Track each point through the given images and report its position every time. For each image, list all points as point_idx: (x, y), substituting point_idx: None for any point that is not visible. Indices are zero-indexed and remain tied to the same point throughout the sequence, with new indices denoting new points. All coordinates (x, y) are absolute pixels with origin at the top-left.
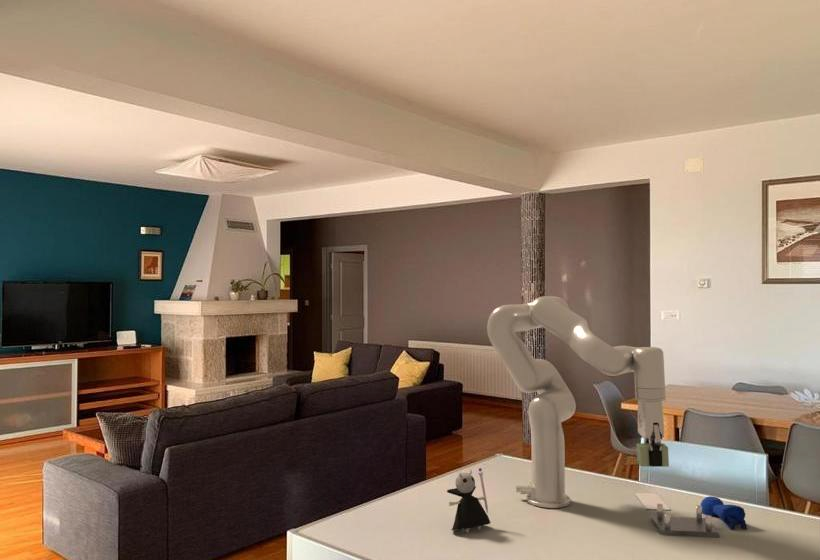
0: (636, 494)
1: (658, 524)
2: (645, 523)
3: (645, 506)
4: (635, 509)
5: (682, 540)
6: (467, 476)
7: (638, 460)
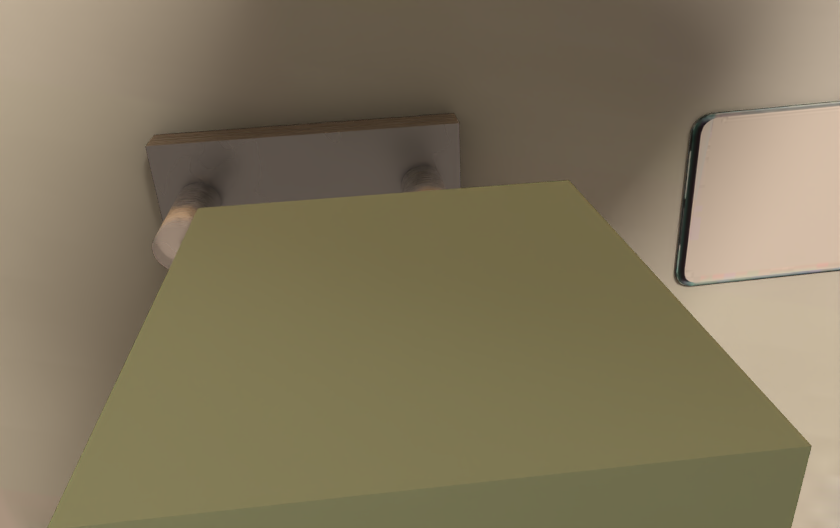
0: None
1: (263, 150)
2: (377, 59)
3: (758, 121)
4: (699, 29)
5: (92, 260)
6: None
7: (438, 217)
